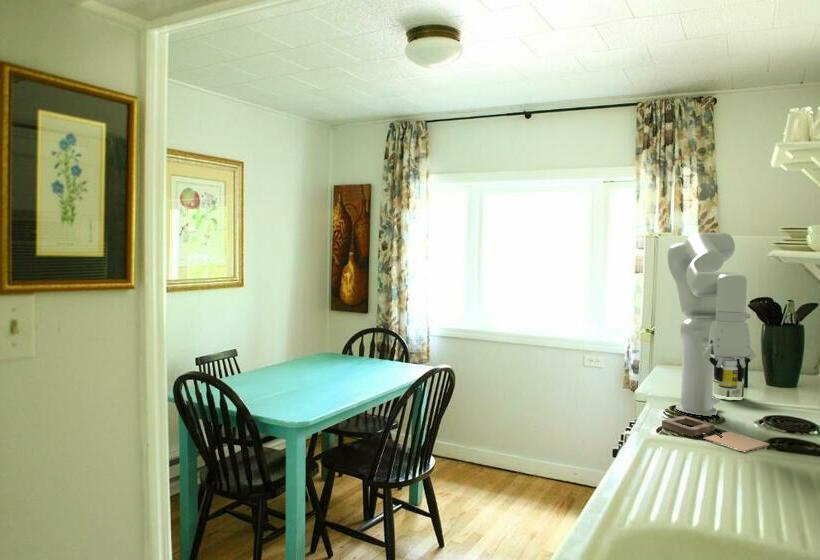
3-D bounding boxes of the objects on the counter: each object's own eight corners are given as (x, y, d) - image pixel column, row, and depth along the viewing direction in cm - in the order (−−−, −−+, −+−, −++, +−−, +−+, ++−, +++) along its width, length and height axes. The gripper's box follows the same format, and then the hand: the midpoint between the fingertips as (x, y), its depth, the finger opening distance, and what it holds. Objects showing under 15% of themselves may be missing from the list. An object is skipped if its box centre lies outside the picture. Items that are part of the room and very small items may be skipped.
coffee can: (722, 392, 225) (724, 355, 224) (749, 398, 217) (751, 360, 216) (705, 396, 220) (707, 358, 219) (732, 402, 211) (734, 363, 210)
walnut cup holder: (684, 422, 189) (684, 415, 189) (714, 431, 180) (714, 424, 180) (661, 427, 184) (662, 420, 184) (691, 437, 175) (692, 430, 175)
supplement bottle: (734, 391, 168) (735, 362, 168) (716, 389, 171) (717, 359, 171) (739, 389, 172) (740, 360, 171) (721, 386, 175) (722, 357, 174)
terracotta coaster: (729, 433, 179) (729, 431, 179) (769, 445, 168) (769, 443, 168) (703, 439, 173) (703, 437, 173) (743, 453, 163) (743, 450, 163)
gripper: (754, 316, 174) (752, 378, 175) (694, 315, 175) (692, 377, 176) (768, 319, 166) (765, 384, 167) (705, 318, 167) (703, 383, 168)
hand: (728, 379), depth 171 cm, fingers closed on supplement bottle, 4 cm apart
